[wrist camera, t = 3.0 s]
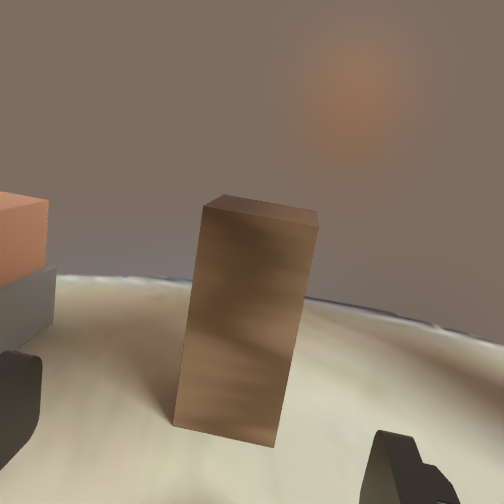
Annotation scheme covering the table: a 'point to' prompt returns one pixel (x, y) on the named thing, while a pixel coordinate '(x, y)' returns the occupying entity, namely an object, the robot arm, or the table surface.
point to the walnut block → (244, 317)
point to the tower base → (26, 307)
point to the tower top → (21, 236)
